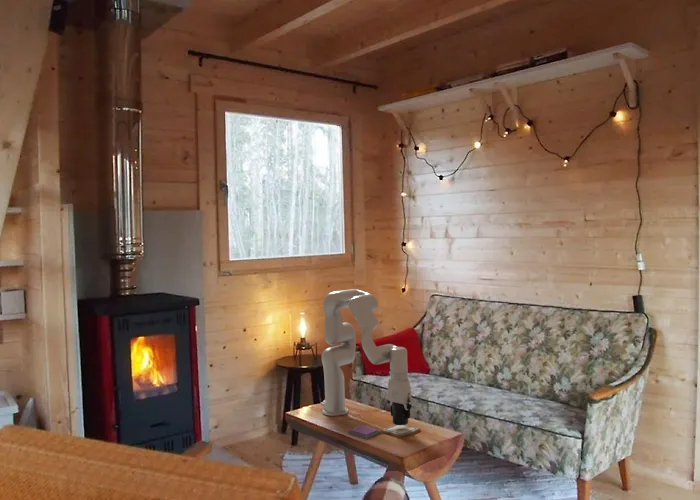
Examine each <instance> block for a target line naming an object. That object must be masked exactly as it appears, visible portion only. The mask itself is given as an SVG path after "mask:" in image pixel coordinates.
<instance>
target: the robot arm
mask: <svg viewBox="0 0 700 500" xmlns="http://www.w3.org/2000/svg"><path fill="white" fill-rule="evenodd" d="M322 304H323V310H324V339H325V342H326V343H327V344H328V345H330V346H331V345H333V346H331V347H328V348H326V349H324V350H323V351H322V353H321V363H322V366H323V376H324V377H323V378H324V400H323V401H322V402H320V405H321V406H322V407H323V409H322V414H323V415H325V416H331V417H338V416H343V415H347V414H348V413H349V412H350V411H349V410H350V409H349V408H348V407H346V397H345V396H346V395H345V393H346V392H345V391H346V390H345V374H344V372H343V370H342V369H341V366H345V365H348V364H351V363H353V362H354V360H355V359H356V358H355V357H356V348H357V347H356V346H357V345H356V341H357V336H356V329H355V327H354V325H353V324H351V323H350V322H345V321H344V322H343V320H344V319H343V318H344V317H343V314H342V311H341V310H343V309H349V310H350V311H351V313H352V315H353V317H354V318H355V320H356V323H357V324H358V326H359V328H360V329H361V337H360V341H361V347H362V350H363V351H364V353H365V356H366V357H367V359H368V361H369V362H370V363H371V364H372V365H382V364H384V363H385V364H386V363H389V369H390V371H389V372H388V375H390V378H389V379H388V384H387V393H386V395H384V398H385V399H386V402H387V403H388V406H389V407H390V416H391V417H393V414H392V404H393V402H394V403H398V404H403V405H404V407H405V410H404V419H408V420H409V419H410V418H411V409H412V408H413V407H414V405H415V404H416V400H415V398H413V396H412V389H411V382H410V379H409V371H408V368H409V366H408V365H409V364H408V350H407V348H406V347H404V346H397V345H395V344H392V343H387V344H383V345H378V346H377V345H376V343H375V342H374V339H373V335H372V333H373V331H374V330H376V329H377V328H378V326H379V324H380V323H379V320H378V317H377V316H376V315H375V313H374V312H375V311H377V309H378V307H379V300H378V299H377V298H376V296H375V295H373V294H372V293H370V292H367V291H366V292H365V291H363V290H360V289H356V288H350V289H345V290H344V289H343V290H342V289H340V290H336V291H332V292H329V293H327V294H326V295H325V297H324V299H323V303H322ZM339 344H340V345H339ZM406 404H407V405H406Z"/></svg>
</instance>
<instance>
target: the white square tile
mask: <svg viewBox="0 0 700 500" xmlns="http://www.w3.org/2000/svg"><path fill="white" fill-rule="evenodd" d="M380 431H381V433H380V434H385V435H389V436H393V437H396V438H399V439H406V438H407V437H410V436H412V435H414V434H417V433H419V432H421V428H419V427H415V426H411V425H408V424H406V425H395V424H393V425H391V426H388V427H386V428H384V429H381V430H380Z"/></svg>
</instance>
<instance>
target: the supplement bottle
mask: <svg viewBox="0 0 700 500" xmlns="http://www.w3.org/2000/svg"><path fill="white" fill-rule="evenodd" d="M406 405H407V404H406ZM404 410H405V407H404V405H403V404H398V403H394V402H393V404H392V414H393V416H392V424H393V425H408V424H409V418H408V419H404Z"/></svg>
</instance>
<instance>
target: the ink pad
mask: <svg viewBox="0 0 700 500" xmlns="http://www.w3.org/2000/svg"><path fill="white" fill-rule="evenodd" d="M347 434H348V435H352V436H355V437H358V438H362V439H365V440H368V439H371V438H373V437H375V436H378V435H380V434H382V433H381V430H380V429H377V428H373V427H369V426H365V425H359V426H357V427H354V428H352V429H350V430H347Z"/></svg>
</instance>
